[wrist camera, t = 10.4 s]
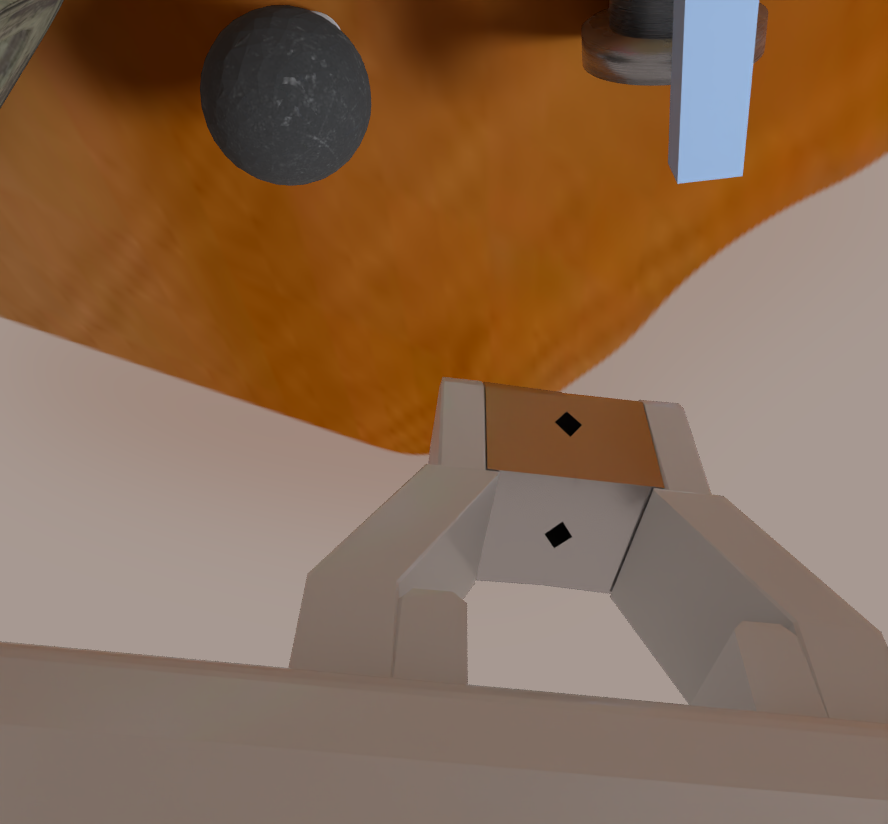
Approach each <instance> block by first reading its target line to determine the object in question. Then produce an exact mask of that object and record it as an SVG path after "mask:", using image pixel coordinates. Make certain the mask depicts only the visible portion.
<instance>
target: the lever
mask: <svg viewBox="0 0 888 824" xmlns="http://www.w3.org/2000/svg"><path fill="white" fill-rule="evenodd" d="M758 7H759V0H674V7H673V37H672V66H671V95H670V125H669V154H668V164H669V166H670V168H671V170H672V173H673V175H674V177H675V179H676V181H677V184H679V183H687V182H696V181H704V180H713V179H721V178H730V177H738V176H743V166H744V155H745V145H746V134H747V123H748V113H749V102H750V91H751V81H752V70H753V60H754V49H755V38H756V28H757V17H758Z"/></svg>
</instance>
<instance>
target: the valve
mask: <svg viewBox="0 0 888 824" xmlns="http://www.w3.org/2000/svg"><path fill="white" fill-rule="evenodd" d="M673 7H674V0H609V8H608V9H605V10H603V11H601V12H599V13H597V14H595V15H593V16H591V17H590V18H589V19H587V20H586V21H585V22H584V24H583V25H582V28H581V32H582V62H583V67H584V69H585V70H586V71H587V72H588V73H590V74H591V75H593V76H595V77H597V78H600V79H603V80H606V81H611V82H615V83H622V84H630V85H671V66H672V37H673ZM767 20H768V10H767V8H766V7H765V6H764V5H762V4H761V3H759V7H758V17H757V28H756V38H755V49H754V60H753V63H755V62H756V61H758V60H759V59H760V58H761V57H762V55H763V53H764V49H765V40H766V30H767Z"/></svg>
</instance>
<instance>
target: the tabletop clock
mask: <svg viewBox="0 0 888 824" xmlns="http://www.w3.org/2000/svg"><path fill="white" fill-rule="evenodd" d="M62 3H63V0H0V108H1V106H2V105H3V103H4V102H5V100H6V98H7V97H8V95H9V93H10V92H11V90H12V88H13V87H14V85H15V83H16V82H17V80H18V78H19V77H20V75H21V73H22V72H23V70H24V69H25V67H26V65H27V64H28V62H29V60H30V59H31V57H32V55H33V54H34V52H35V50H36V49H37V47H38V45H39V44H40V42H41V40H42V39H43V37H44V35H45V34H46V32H47V30H48V29H49V27H50V25H51V23H52V22H53V20H54V18H55V16H56V14H57V12H58V11H59V9H60V7H61V5H62Z"/></svg>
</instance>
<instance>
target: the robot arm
mask: <svg viewBox="0 0 888 824" xmlns="http://www.w3.org/2000/svg"><path fill="white" fill-rule="evenodd" d="M475 580H480V581H495V582H508V583H521V584H535V585H545V586H553V587H561V588H569V589H577V590H585V591H593V592H601V593H609V594H611V595H610V597H611V599H612V600H613V601H614V603H615V604H616V606H617V607H618V608H619V610H620V611H621V613H622V614H623V615H624V616H625V618H626V619H627V621H628V622H629V623H630V625H631V626H632V627H633V628H634V630H635V631H636V633H637V634H638V635H639V637H640V638H641V640H642V641H643V642H644V644H645V645H646V646H647V648H648V649H649V650H650V652H651V653H652V655H653V656H654V657H655V659H656V660H657V661H658V663H659V664H660V666H661V667H662V668H663V670H664V671H665V672H666V674H667V675H668V676H669V678H670V679H671V681H672V682H673V683H674V685H675V686H676V687H677V689H678V690H679V691H680V693H681V694H682V695H683V697H684V698H685V700H686V701H687V702H688V704H689V705H684V704H673V703H662V702H651V701H641V700H629V699H619V698H608V697H596V696H586V695H575V694H565V693H553V692H543V691H532V690H520V689H510V688H500V687H488V686H478V685H477V686H476V685H468V683H467V682H468V676H467V675H468V671H467V603H466V602H465V601H464V600H463V599H464V598H465V596H466V595H467V594H468V592H469V591H470V589H471V588H472V587H473V585H474V584H475ZM0 824H888V647H887V644H886V642H885V640H884V638H883V636H882V633H881V632H880V631H879V630H878V629H877V628H876V627H874V626H873V625H872V624H871V623H870V622H869V621H867V620H866V619H865V618H864V617H863V616H862V615H861V614H859V613H858V612H857V611H856V610H855V609H854V608H852V607H851V606H850V605H849V604H848V603H847V602H846V601H844V600H843V599H842V598H841V597H840V596H838V595H837V594H836V593H835V592H834V591H833V590H832V589H831V588H829V587H828V586H827V585H826V584H825V583H824V582H822V581H821V580H820V579H819V578H818V577H817V576H815V575H814V574H813V573H812V572H810V570H808V569H807V568H806V567H805V566H804V565H803V564H801V563H800V562H799V561H798V560H797V559H796V558H795V557H793V556H792V555H791V554H790V553H789V552H788V551H787V550H785V549H784V548H783V547H782V546H781V545H780V544H778V543H777V542H776V541H775V540H774V539H773V538H771V537H770V536H769V535H768V534H767V533H766V532H764V531H763V530H762V529H761V528H760V527H759V526H758V525H756V524H755V523H754V522H753V521H752V520H751V519H749V518H748V517H747V516H746V515H745V514H744V513H743V512H741V511H740V510H739V509H738V508H737V507H736V506H734V505H733V504H732V503H731V502H730V501H729V500H728V499H726V498H725V497H724V496H720V495H712V494H711V491H710V488H709V484H708V481H707V479H706V475H705V472H704V469H703V466H702V463H701V460H700V457H699V454H698V451H697V448H696V445H695V441H694V438H693V435H692V432H691V429H690V426H689V423H688V420H687V417H686V414H685V411H684V408H683V407H682V406H681V405H679V404H678V403H669V402H657V401H644V400H639V401H631V400H622V399H612V398H603V397H594V396H584V395H576V394H567V393H562V392H556V391H549V390H541V389H534V388H527V387H519V386H512V385H505V384H497V383H490V382H483V383H482V382H481V381H473V380H465V379H456V378H448V377H443V378H442V381H441V384H440V389H439V395H438V402H437V408H436V415H435V421H434V427H433V434H432V440H431V446H430V454H429V463H428V464H426V465H425V466H424V467H422V468H421V469H420V470H419V471H418V472H417V473H416V474H415V475H414V476H413V477H412V478H411V479H410V480H408V481H407V482H406V483H405V484H404V485H403V486H402V487H401V488H400V489H399V490H398V491H397V492H396V493H394V494H393V495H392V496H391V497H390V498H389V499H388V500H387V501H386V502H385V503H384V504H383V505H382V506H380V507H379V508H378V509H377V510H376V511H375V512H374V513H373V514H372V515H371V516H370V517H368V518H367V519H366V520H365V521H364V522H363V523H362V524H361V525H360V526H359V527H358V528H357V529H356V530H355V531H353V532H352V533H351V534H350V535H349V536H348V537H347V538H346V539H345V540H344V541H343V542H341V543H340V544H339V545H338V546H337V547H336V548H335V549H334V550H333V551H332V552H331V553H330V554H329V555H327V556H326V557H325V558H324V559H323V560H322V561H321V562H320V563H319V564H318V565H317V566H316V567H315V568H313V569H312V570H311V571H310V572H309V573H308V575H307V579H306V584H305V589H304V594H303V599H302V604H301V609H300V614H299V618H298V623H297V628H296V634H295V638H294V643H293V648H292V653H291V658H290V663H289V668H283V667H272V666H261V665H250V664H239V663H229V662H218V661H206V660H196V659H185V658H174V657H163V656H153V655H142V654H131V653H119V652H109V651H98V650H88V649H77V648H65V647H55V646H43V645H34V644H22V643H11V642H1V641H0Z"/></svg>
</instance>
